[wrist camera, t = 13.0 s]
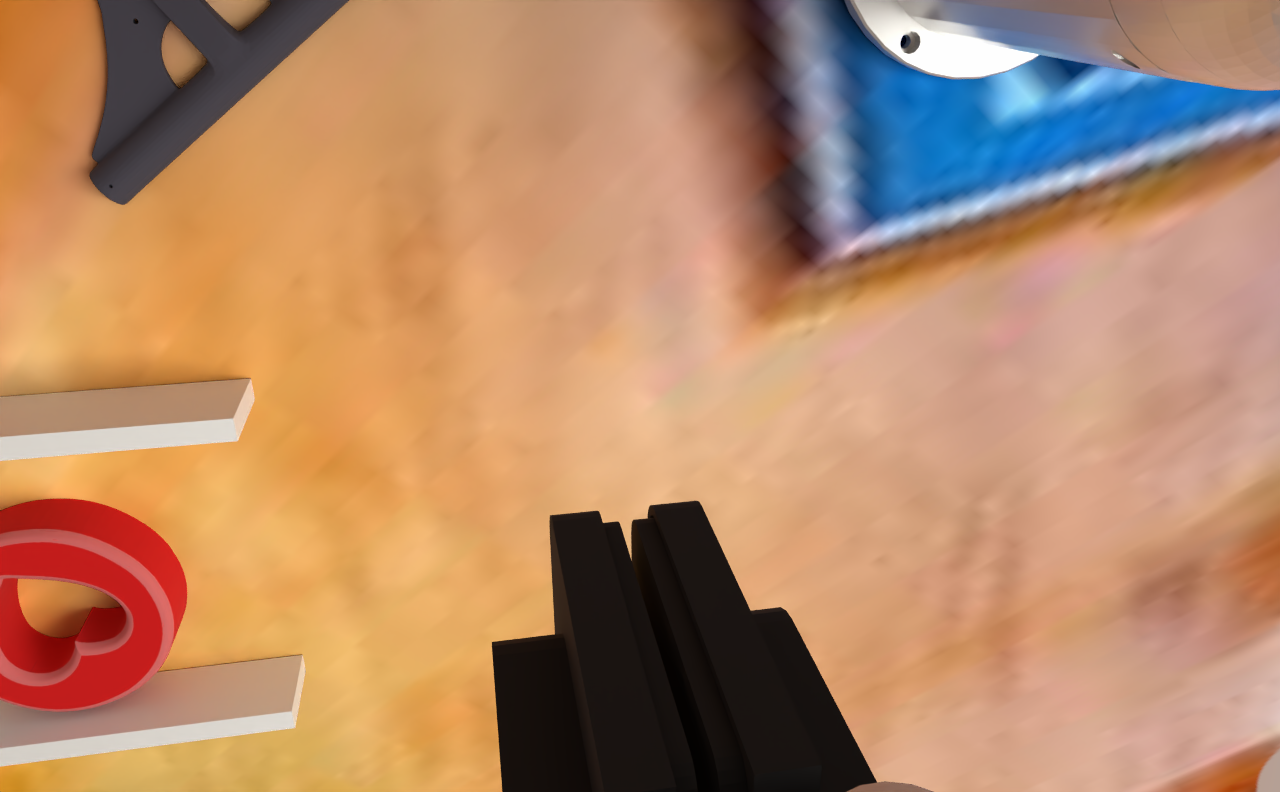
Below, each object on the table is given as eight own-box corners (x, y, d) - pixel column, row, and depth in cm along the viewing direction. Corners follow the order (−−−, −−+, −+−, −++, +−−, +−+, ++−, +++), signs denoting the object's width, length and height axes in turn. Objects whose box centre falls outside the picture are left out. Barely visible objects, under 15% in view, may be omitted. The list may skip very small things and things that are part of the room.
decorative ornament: (18, 459, 42) (-13, 495, 39) (226, 558, 46) (212, 598, 43) (-82, 616, 44) (-118, 661, 41) (125, 698, 48) (105, 745, 45)
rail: (250, 378, 42) (233, 418, 38) (305, 670, 49) (295, 727, 45) (-164, 408, 39) (-224, 454, 36) (-46, 713, 46) (-86, 777, 43)
